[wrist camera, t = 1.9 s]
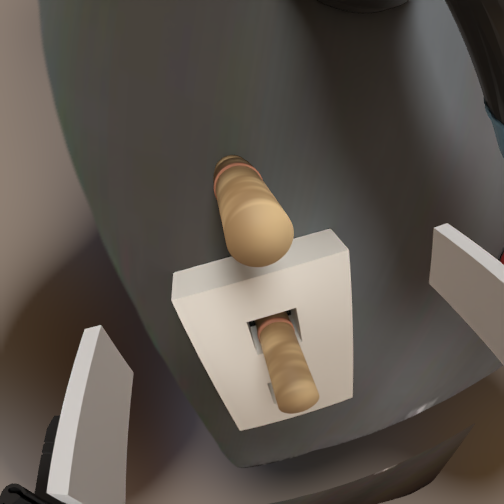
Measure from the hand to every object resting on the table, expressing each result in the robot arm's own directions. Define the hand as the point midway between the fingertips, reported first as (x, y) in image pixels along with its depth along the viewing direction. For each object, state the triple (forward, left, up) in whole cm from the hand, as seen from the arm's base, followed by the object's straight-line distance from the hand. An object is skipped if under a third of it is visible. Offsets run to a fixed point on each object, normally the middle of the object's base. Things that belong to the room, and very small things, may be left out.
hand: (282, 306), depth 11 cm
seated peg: (0, +15, -18) cm, 24 cm away
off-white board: (0, +20, -18) cm, 27 cm away
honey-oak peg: (0, 0, -18) cm, 18 cm away
